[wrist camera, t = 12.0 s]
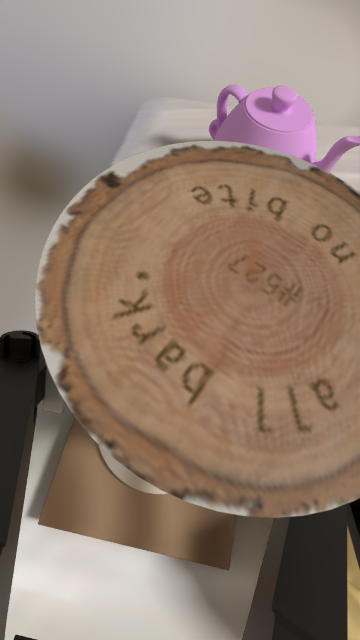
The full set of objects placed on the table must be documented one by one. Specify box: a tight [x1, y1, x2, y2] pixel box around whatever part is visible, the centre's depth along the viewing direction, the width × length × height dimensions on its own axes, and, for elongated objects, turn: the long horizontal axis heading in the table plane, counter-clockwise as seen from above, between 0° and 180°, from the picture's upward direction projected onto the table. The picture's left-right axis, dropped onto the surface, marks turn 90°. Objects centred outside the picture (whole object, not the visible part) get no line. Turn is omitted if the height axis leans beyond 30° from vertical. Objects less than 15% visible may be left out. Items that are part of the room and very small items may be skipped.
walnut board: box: [38, 418, 235, 570], centre depth 29 cm, size 16×20×2 cm
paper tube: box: [35, 141, 360, 518], centre depth 16 cm, size 7×7×25 cm
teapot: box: [209, 85, 360, 173], centre depth 39 cm, size 20×14×12 cm
